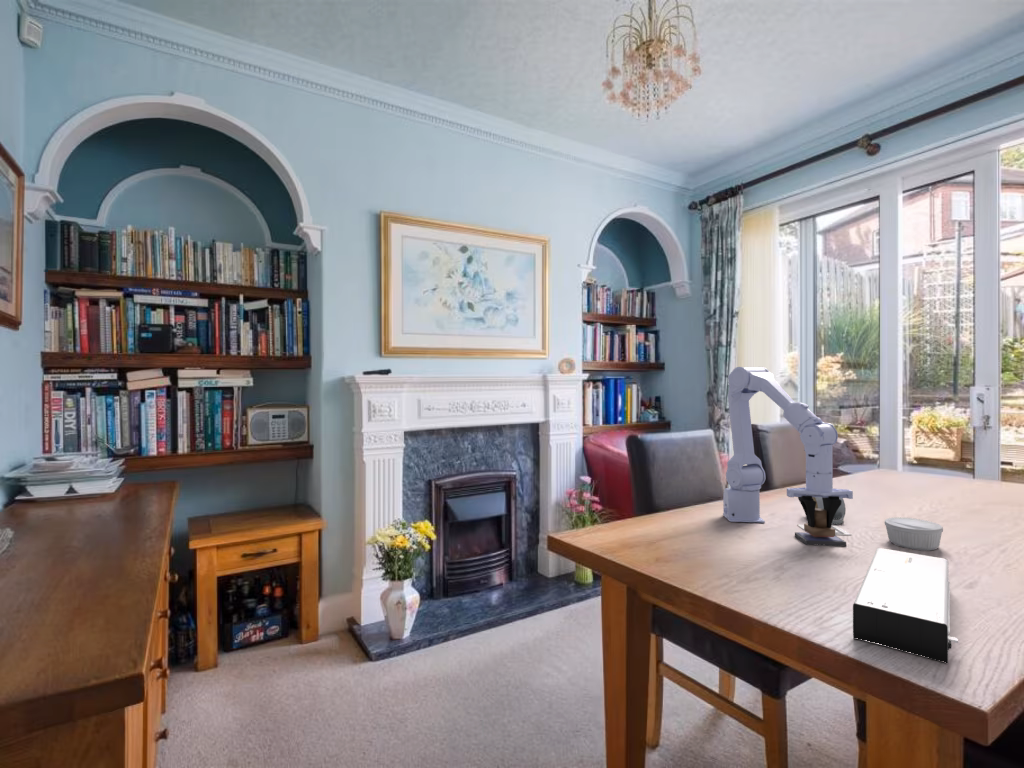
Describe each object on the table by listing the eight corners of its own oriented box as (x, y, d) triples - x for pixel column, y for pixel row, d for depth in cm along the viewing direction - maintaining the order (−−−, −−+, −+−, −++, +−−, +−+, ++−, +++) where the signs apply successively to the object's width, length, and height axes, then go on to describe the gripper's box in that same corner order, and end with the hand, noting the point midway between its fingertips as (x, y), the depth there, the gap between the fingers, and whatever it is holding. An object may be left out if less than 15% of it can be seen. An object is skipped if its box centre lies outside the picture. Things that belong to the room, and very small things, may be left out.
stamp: (813, 536, 125) (813, 512, 125) (804, 530, 130) (804, 507, 130) (835, 537, 125) (835, 512, 125) (824, 531, 130) (824, 507, 130)
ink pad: (806, 544, 125) (806, 540, 125) (794, 536, 132) (794, 531, 132) (846, 546, 123) (846, 541, 123) (832, 537, 130) (832, 532, 130)
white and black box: (876, 577, 105) (876, 547, 105) (956, 592, 97) (956, 560, 97) (853, 642, 79) (852, 602, 79) (958, 671, 71) (958, 627, 71)
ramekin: (889, 548, 122) (888, 526, 122) (881, 535, 132) (880, 515, 132) (949, 555, 117) (949, 532, 117) (936, 541, 126) (936, 520, 126)
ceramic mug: (804, 514, 152) (803, 489, 152) (833, 515, 151) (833, 489, 151) (821, 525, 142) (821, 497, 142) (852, 525, 141) (852, 498, 141)
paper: (809, 533, 133) (809, 532, 133) (797, 525, 141) (797, 524, 141) (851, 535, 132) (851, 534, 132) (836, 526, 140) (836, 525, 140)
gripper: (794, 474, 124) (794, 530, 125) (859, 475, 122) (859, 532, 122) (783, 469, 131) (783, 522, 132) (844, 470, 129) (844, 523, 129)
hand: (819, 526), depth 127 cm, fingers closed on stamp, 3 cm apart
